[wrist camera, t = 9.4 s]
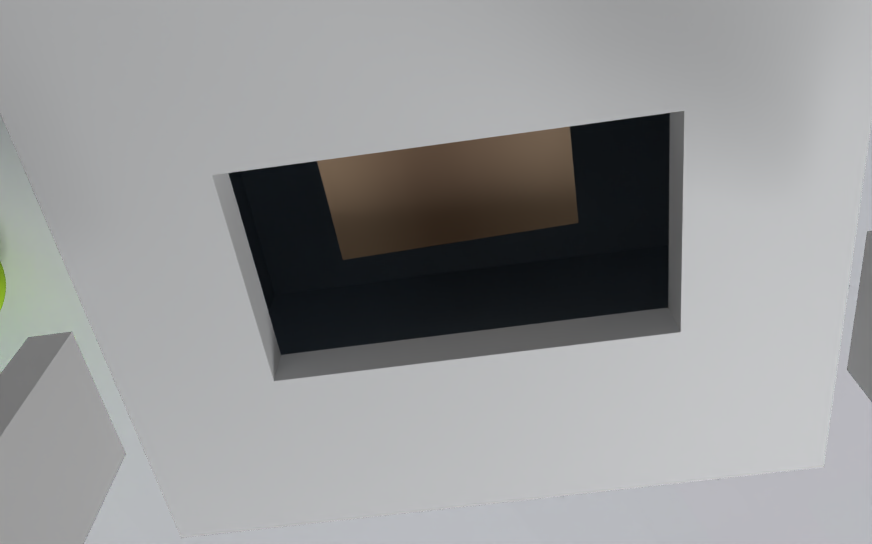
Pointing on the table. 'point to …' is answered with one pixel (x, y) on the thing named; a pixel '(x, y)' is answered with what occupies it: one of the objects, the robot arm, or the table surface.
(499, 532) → the table surface
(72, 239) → the box
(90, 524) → the robot arm
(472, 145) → the brown flat block
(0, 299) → the molecule model
